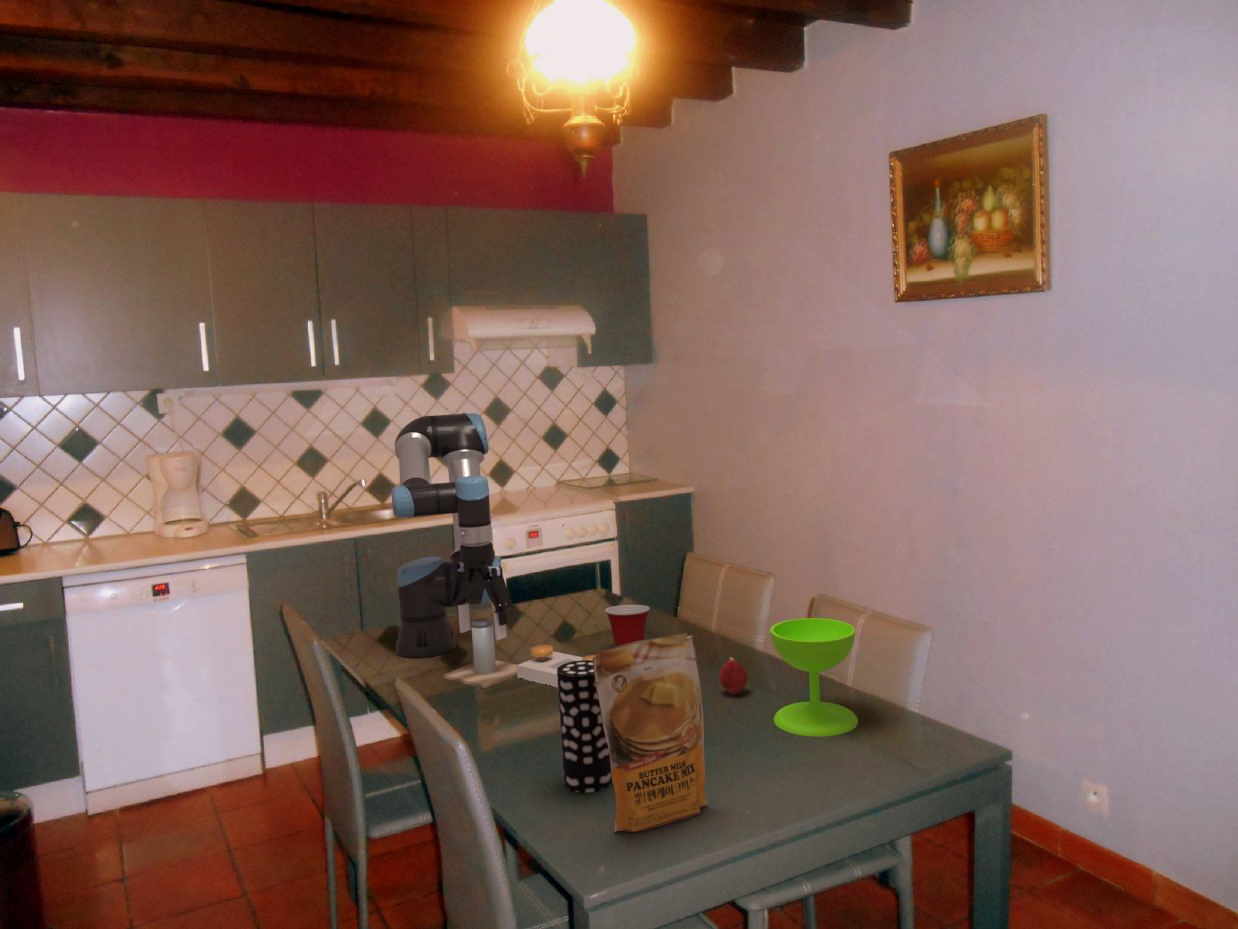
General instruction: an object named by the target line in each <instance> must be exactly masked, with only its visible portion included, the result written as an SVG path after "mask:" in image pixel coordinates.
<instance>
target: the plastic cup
mask: <svg viewBox="0 0 1238 929" xmlns="http://www.w3.org/2000/svg"><path fill="white" fill-rule="evenodd" d="M650 609H651V608H650V606H647V605H643V604H642V605H641V604H621V605H615V606H614V605H613V606H610V607H607V608H606V609H604V611H605V613H606V614H607V617H608V620H609V624H610V628H611V633H612V637H613V642H614V645H615V647H616V646H620V645H624V644H628V643H632V642H636V641H641V640H645V632H646V625H647V624H646V623H647V622H646V621H647V616H648V613H649V611H650Z"/></svg>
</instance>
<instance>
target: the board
mask: <svg viewBox="0 0 1238 929" xmlns="http://www.w3.org/2000/svg"><path fill="white" fill-rule="evenodd" d="M495 662H496V671H495V672H493V673H491V674H484V675H480V674H476V673H475V671H474V662H473V663H471V664H468V665H465V666H463V667H460V668H457V669H454V670H452V671H450V672H447V673H444V674H442V678H443V679H445V680H450V681H453V682H456V683H462V684H465V685H468V684H469V686H471V687H472V686H473V687H476V688H481V689H487V688H489V687H491V685H492V686H494V685H497V684H499V683H501V682H504V681H506V680H508V679H507V678H509V679H511V678H513V676H514V677H516V676H517V665H518V664H515V663H510V662H507V661H500V660H497V659H495ZM515 675H516V676H515ZM500 681H501V682H500ZM498 682H499V683H498ZM493 684H494V685H493Z"/></svg>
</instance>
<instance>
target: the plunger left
mask: <svg viewBox="0 0 1238 929" xmlns="http://www.w3.org/2000/svg"><path fill="white" fill-rule="evenodd" d="M553 651H554V646H553V645H550V644H538V645H534V646H531V647H530V656H531V657H534V658H536V657H538V662H542V663H543V662H545V661H547V656H550V655H552V654H553Z"/></svg>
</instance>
